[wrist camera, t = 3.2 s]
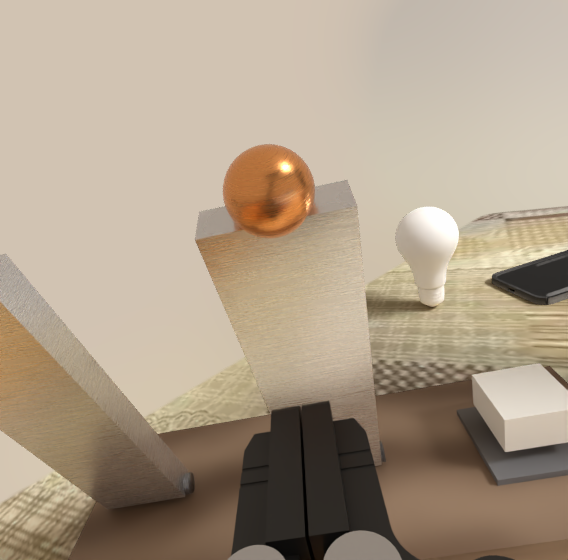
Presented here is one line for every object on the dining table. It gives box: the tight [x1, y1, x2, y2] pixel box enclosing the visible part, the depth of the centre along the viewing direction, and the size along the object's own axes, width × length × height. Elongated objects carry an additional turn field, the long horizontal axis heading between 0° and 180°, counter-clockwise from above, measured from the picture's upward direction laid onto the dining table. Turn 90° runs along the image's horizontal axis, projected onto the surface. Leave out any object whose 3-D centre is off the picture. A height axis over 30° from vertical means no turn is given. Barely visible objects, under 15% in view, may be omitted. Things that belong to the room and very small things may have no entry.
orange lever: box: [195, 144, 386, 466], centre depth 18 cm, size 3×6×21 cm, turn 90°
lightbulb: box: [395, 207, 459, 307], centre depth 43 cm, size 6×6×11 cm
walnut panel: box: [68, 366, 568, 560], centre depth 25 cm, size 12×32×2 cm, turn 90°
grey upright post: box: [0, 254, 195, 509], centre depth 19 cm, size 3×6×21 cm, turn 90°
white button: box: [472, 363, 568, 452], centre depth 24 cm, size 4×4×3 cm
